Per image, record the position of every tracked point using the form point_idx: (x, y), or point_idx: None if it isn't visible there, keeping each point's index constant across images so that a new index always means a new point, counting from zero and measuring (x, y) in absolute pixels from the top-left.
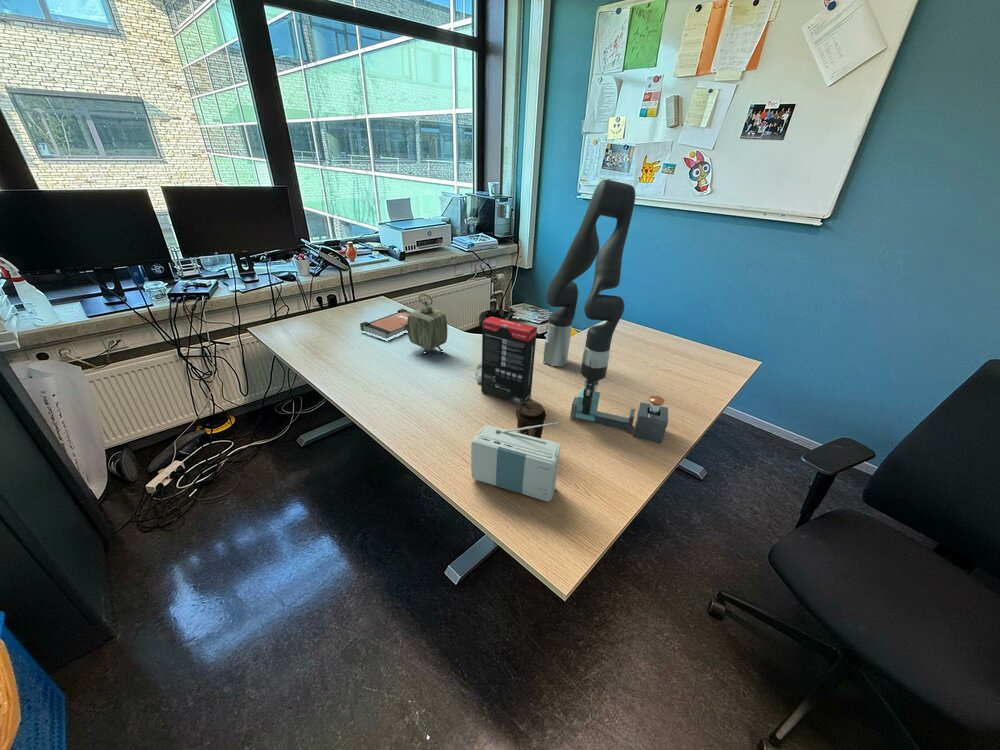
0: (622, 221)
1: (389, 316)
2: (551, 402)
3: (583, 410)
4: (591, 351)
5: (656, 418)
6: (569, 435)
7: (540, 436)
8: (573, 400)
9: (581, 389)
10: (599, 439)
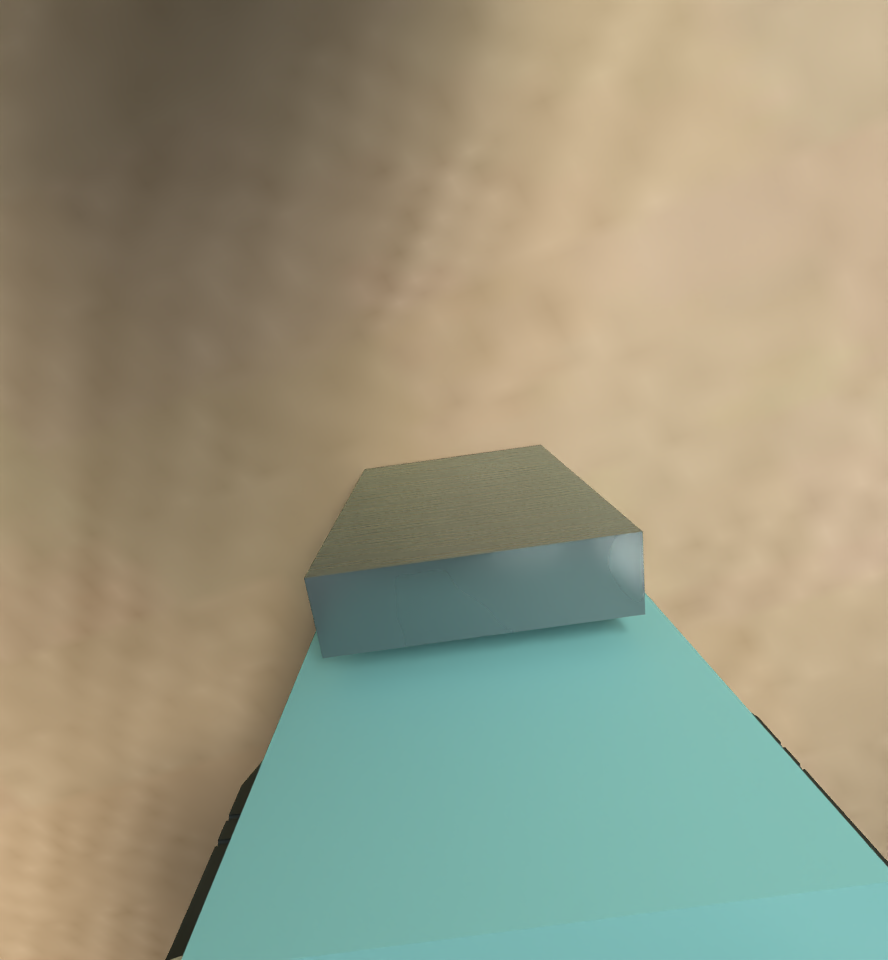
0: None
1: None
2: (657, 50)
3: (236, 813)
4: None
5: None
6: (55, 572)
7: None
8: (458, 558)
9: (818, 901)
10: (203, 826)
